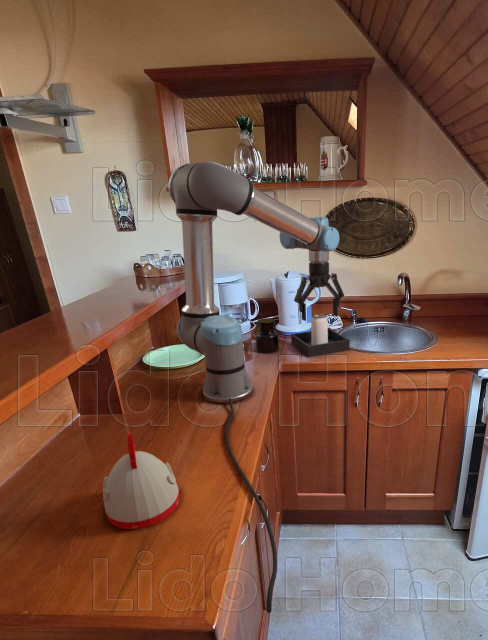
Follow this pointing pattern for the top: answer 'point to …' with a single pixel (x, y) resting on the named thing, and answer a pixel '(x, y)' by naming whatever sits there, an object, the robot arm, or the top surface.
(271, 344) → the ink bottle
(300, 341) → the pan
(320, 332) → the can
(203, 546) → the top surface
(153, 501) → the toy helmet
